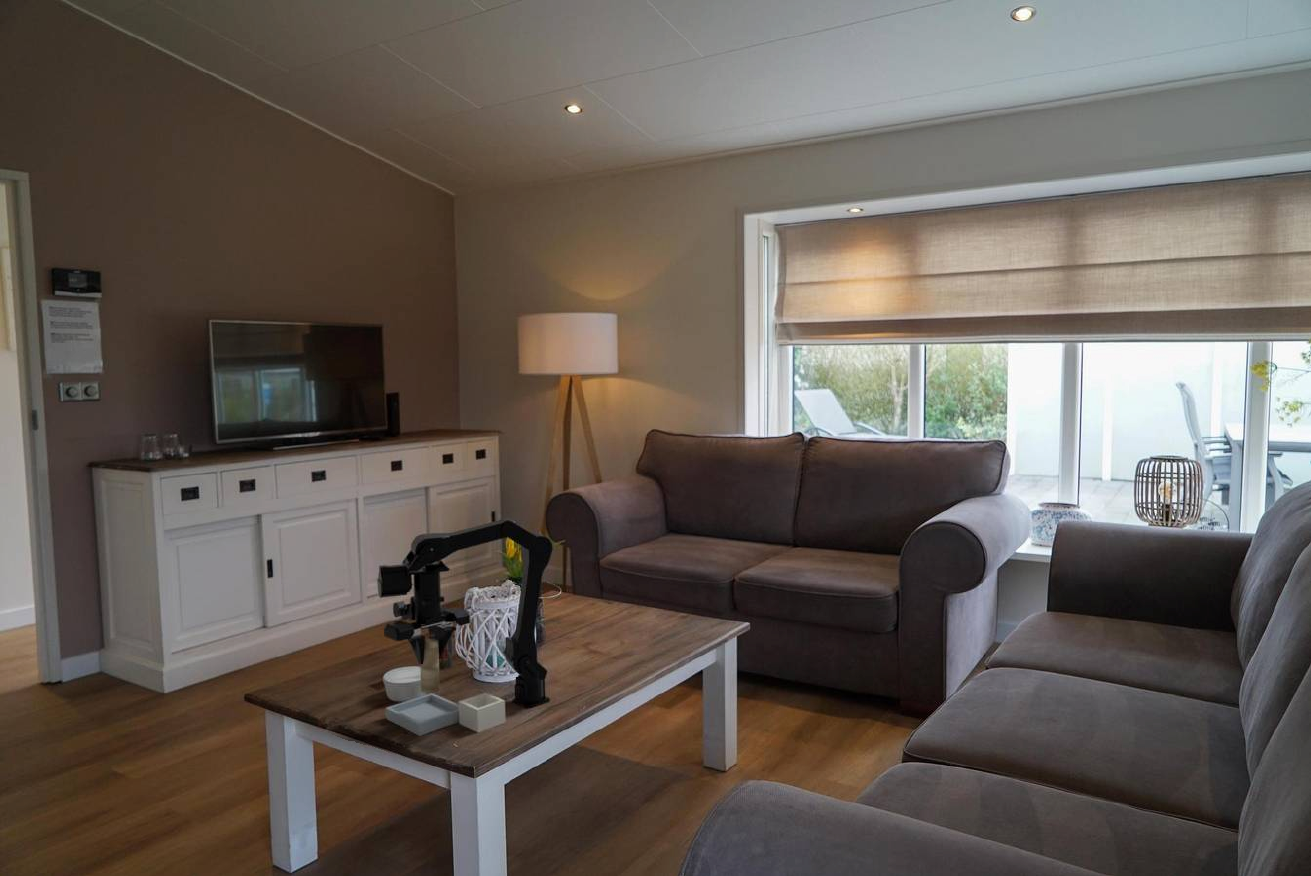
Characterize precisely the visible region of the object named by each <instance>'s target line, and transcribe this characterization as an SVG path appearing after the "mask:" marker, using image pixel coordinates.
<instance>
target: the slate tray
mask: <svg viewBox="0 0 1311 876" xmlns="http://www.w3.org/2000/svg"><path fill="white" fill-rule="evenodd" d="M385 719H386V720H388V721H390V722H391V723H394V724H395V725H398V726H399V727H401V728H403V729H406V730H407V731H409V730H410V731H409V732H411V733H413V734H415V735H416V736H419V737H421V736H424V735H426V734H428V733H432V732H434V731H438V730H440V729H443V728H445V727H448V726H451V725H455V724H458V723H459V704H457V703H456V702H453V701H451V700H449V699H446V698H445V697H443V696H440V695H438V694H436V693H430V694H426V695H425V696H422V697H419V698H415V699H412V700H409V701H406V702H399V703H397V704H394V705H391V706H387V707H385ZM437 729H438V730H437Z"/></svg>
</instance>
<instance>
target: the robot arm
mask: <svg viewBox="0 0 1311 876" xmlns="http://www.w3.org/2000/svg"><path fill="white" fill-rule="evenodd" d="M502 539H509V540H511V541H513V542H514V543H515V544H518V545H519V546H520V558H521V564H522V572H523V573H522V580H521V587H520V593H519V601H518V609H517V616H516V624H515V630H514V633H513V634H512V636H511V637H510V636H509V637H508V636H506V637H505V647H504V650H503V652H502V654H503V655H504V656H505V660H506V663H507V664H508V665H509V666H510V667H511V668H512V669H513V670H514V671H515V673H517V674H518V675H517V676H515V684H514V686H513V687H514V698H512V699H511V700H512V702H513V703H515V704H517V705H520V706H522V707H525V708H527V709H530V708H533V707H536V706H538V705H542V704H544V703H546V702H549V701H551V698H550V697H548V696H546V678H547V674H548V670H547V669H546V668H545V667H544V666H543V665H542V664H541V663H540V662H539V661H538V648H537V647H538V646H537V642H536V638H535V637H536V636H535V632H536V625H537V617H538V612H539V611H538V609H539V602H540V594H541V588H542V580H543V574H544V572H545V570H546V569H547V567H548V565H549V562H550V560H551V557H552V553H553V551H554V549H553V548H554V546H553V543H552V542H551V540H550V539H549V538H548V537H547V536H544V535H543V534H541V533H539V532H536V531H528V530H526V529H524V528H523V527H521V526H520V525H518V524H517V523H516V522H515V521H514V520H512V519H510V518H507V517H502V518H500V519H499V520H495V521H491V522H488V523H484V524H480V525H476V526H472V527H468V528H464V529H460V530H457V531H453V532H434V533H433V532H432V533H422V534H419V535H417V536H415V537H414V538H413V541H412V542H411V545H410V550H409V552H408V553H407V554H406V556H405V557H404V559H403V560H402V562H401V564H393V565H388V564H387V565H386V564H384V565H379V567H378V576H377V577H378V578H377V581H376V582H377V583H376V584H377V592H378V597H379V598H380V599H381V598H391V597H398V596H399V597H401V596H406V595H408V593H410V592H411V590H412V588H413V595H412V596H410V599H409V600H410V601H409V603H406V604H405V601H404V600H403V601H402V600H401V601H396V602H394V603H392V604H393V605H392V612H393V616H394V617H395V618H399V617H401V619H400V620H395V621H392V622H388V623H386V625H385V626H384V628H383V632H384V633H383V634H384V635H383V636H384V637H385V638H388V639H390V640H392V641H393V640H394V641H396V642H402V641H405V640H407V641H408V642H409V645H410V646H411V648H412V651H413V653H414V655H415V658H416V660H417V662H418V664H419V665H420V664H423V660H424V648H425V640H426V636H425V635H423V634H422V630H425V629H428V628H429V627H432V629H433V631H434V634H435V639H436V640H438V648H439V659H440V658H441V655H442V653H443V651H444V649H445V646H446V644H447V642H448V640H449V638H450V637H451V635H452V636H453V633H454V632H456V631H457V627H456V626H454V622H455V624H457V625H458V626H459V627H460V626H464V625H465V626H466V625H468V624H471V615H470V612H469V611H468V610H466V609H463V608H460V607H456V606H455V607H450V608H451V609H447V610H443V612H442V613H441V607H442V603H444V602H445V596H442V594H441V590H442V587H441V573H444V572H449V571H450V568H449V566H448V565H446V564H445V563H444V561H442V560H444V559H446V558H448V557H449V556H451V555H452V554H453V553H456V552H457V551H462V550H464V549H469V548H473V547H477V546H480V545H484V544H486V543H487V544H488V543H490V542H495V541H499V540H502ZM412 576H413V577H412ZM406 620H409V621H413V622H406Z"/></svg>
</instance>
